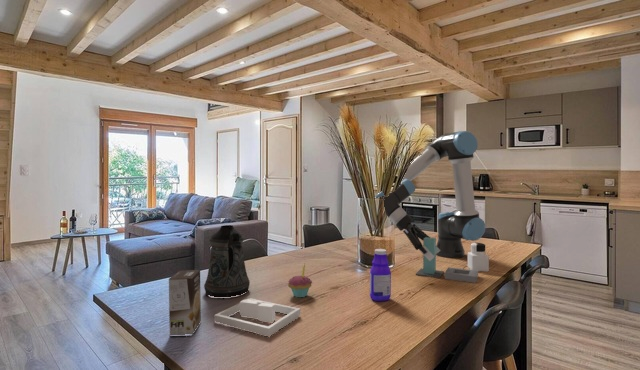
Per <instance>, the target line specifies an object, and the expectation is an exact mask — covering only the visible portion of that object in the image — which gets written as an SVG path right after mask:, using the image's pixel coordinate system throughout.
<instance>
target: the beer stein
mask: <svg viewBox="0 0 640 370" xmlns="http://www.w3.org/2000/svg"><path fill="white" fill-rule="evenodd" d="M244 239H245V238H244V237H243V235H242V234H241V233H240V232H239V231H237V229H235V228H234V226H233V225H232V224H231V225H228V224H227V225H225V224H224V225H221V226H220V228H219V230H217V232H215V233H214V234H212V235H211V236H210V237H209V241H208V242H209V244H210V247H211V248H210V255H209V264H208V265H209V266H208V271H207V277H206V278H205V279H206V280H205V283H204V285H203V288H204V291H205V295H206V294H207V295H210V296H214V297H231V296H236V295H241V294H243V293H245V292H247V291H248V292H249V290H248V289H249V288H250V284H251V283H250V279H249V276H248V273H247V268H246V264H245V263H246V262H245V259H244V258H245V256H244V248H243V242H244ZM248 292H247V293H248Z"/></svg>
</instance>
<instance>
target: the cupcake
mask: <svg viewBox="0 0 640 370" xmlns="http://www.w3.org/2000/svg"><path fill="white" fill-rule="evenodd" d="M305 270H306V263H303V266H302V274H301V275H295V276H292V277H291V278H289V280H288V283H287V286H288V287H289V288H290V289H291V291H292V295H293V297H294V296H296V297H295V298H297V297H303V298H306V297H307V295H308V293H309V289H310V288H311V287H312V284H313V281H312V280H311V279H310V278H309V277H308V276H305ZM305 296H306V297H305Z"/></svg>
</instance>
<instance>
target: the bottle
mask: <svg viewBox="0 0 640 370" xmlns="http://www.w3.org/2000/svg"><path fill="white" fill-rule="evenodd" d="M387 257H388V256H387V250H386V249H384V248H376V249H374V257H373V259H372V261H371V263H372V265H371V267H370V270H369V296H370V299H371V300H373V301H375V302H384V301H385V302H386V301H389V300H390V298H391V296H392V295H391V293H392V292H391V290H392V288H391V287H392V272H391V268H390V266H389V264H390V262H389V260H388V258H387Z"/></svg>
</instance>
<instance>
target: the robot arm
mask: <svg viewBox="0 0 640 370" xmlns="http://www.w3.org/2000/svg"><path fill="white" fill-rule="evenodd" d="M478 145H479V143H478V139H477V137H476V136H475V134H473V133H472V132H471V131H468V130H458V131H455V132H449V133H448V132H447V133H444V134H442V135H440V136H439V137H437V138H436V139H434V140H433V141H432V142H431V143H429V144H428V145H427V146H426V147H425V148H426V149H425V148H424V151H422V153H423V154H422V153H421V154H422V155H420V154H419V155H420V156H419V155H418V156H417V157H415V158H414V159H413V160H414V161H413V160H412V161H413V162H412V161H411V162H412V163H411V162H410V163H411V165H410V166H409V168H408V170H407V172H406V174H405V176H404V178H403V180H402V182H401V185H399V187H398V188H397V190H395V191H394V192H393V193H390V194H389V196H388V197H385V195H384V193H383V192H382V191H381V192H380V193H379V192H378V193H377V194H376V195H375V196H374V198H375V197H376V198H378V197H382V196H384V197H383V199H384V198H385V200H384V207H385V210H386V214H385V216H386V217H387V216H388V217H387V218H388V219H389V222H391V223H393V224H394V225H395V227H396V228H397V229H398V230H399V231H402V232H403V233H404V235H405V236H406V237H407V239H408V241H410V243H411V244H412V246H413V247H414V250H416V251H420V252H421V253H422V254H423V255H424V256H425V257H426V258H427V259H428V260H429V261H431V260H432V259H433V258H434V255H433V254H432V253H431V252H430V251H429V250H428V249H427V248H426V247H425V246H424V245H423V243H422V242H421V241H423V239H424V238H425V237H430V238H432V237H431V236H429V234H426V232H424V231H423V230H422V229H421V228H420V227H418V226H417V224H415V223H413V221H414V219H413V218H412V217H411V216H410V215H409V214H407V212H406V211H405V209H404V208H402V207H401V205H400V204H401V203H403V201H405V200H406V199H407V198H408V197H410V196H411V195H413V193H415V191H416V186H415V184H414V183H413V182H412V181H413V180H415V178H417V177H418V176H419V175H421V173H423V172H424V171H426V169H428V168H429V166H431V165H432V164H434V163H435V162H439V161H441V160H442V159H443V158H446V157H447V159H448V162H449V163H451V165H452V174H453V176H452V177H453V184H454V195H455V206H456V211H450V212H439V214H438V217H437V229H438V230H437V235H438V237H437V241H436V256H439V257H442V258H463V257H465V255H466V254H465V249H464V248H465V247H464V246H463V243H462V239H463V240H465V241H472V242H473V241H478V240H480V239H481V238H482V237H483V236H484V234H485V232H486V222H485V221H484V220H483V219H482V218H481V217H480V212H479V211H478V210H477V208H476V204H475V193H474V185H473V184H474V183H473V174H472V173H473V172H472V163H471V161H472V160H473V159H474V154H475V153H476V152H477V150H478ZM412 223H413V224H412ZM423 255H422V256H423Z"/></svg>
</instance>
